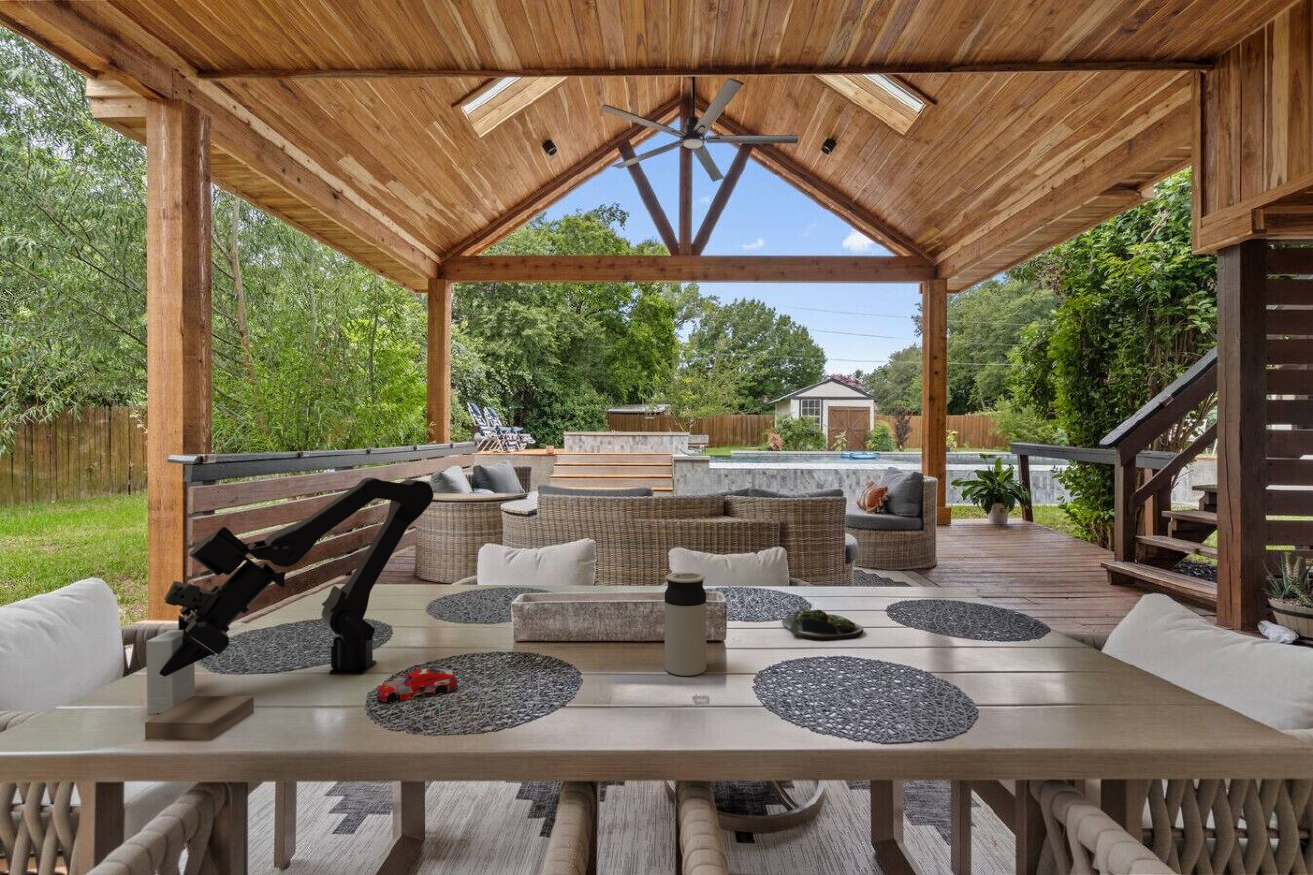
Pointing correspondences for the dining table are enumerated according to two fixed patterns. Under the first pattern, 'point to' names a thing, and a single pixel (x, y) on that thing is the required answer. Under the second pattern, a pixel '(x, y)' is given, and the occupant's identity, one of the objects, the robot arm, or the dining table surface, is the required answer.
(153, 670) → the skincare box
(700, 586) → the travel mug
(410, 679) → the race car
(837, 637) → the salad plate
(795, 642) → the dining table surface
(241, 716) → the walnut block
